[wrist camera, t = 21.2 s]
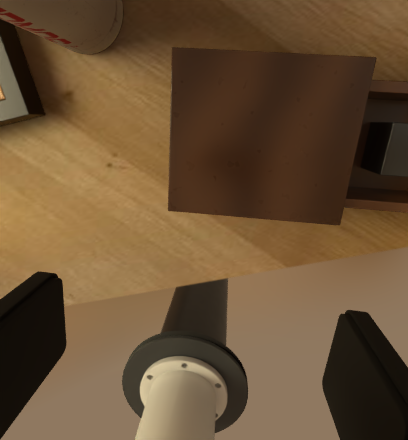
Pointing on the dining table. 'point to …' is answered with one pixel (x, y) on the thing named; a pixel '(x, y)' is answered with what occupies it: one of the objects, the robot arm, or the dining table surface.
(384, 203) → the drawer
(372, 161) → the block
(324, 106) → the cabinet
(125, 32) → the dining table surface
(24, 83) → the cork board
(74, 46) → the thermos bottle
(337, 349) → the robot arm
